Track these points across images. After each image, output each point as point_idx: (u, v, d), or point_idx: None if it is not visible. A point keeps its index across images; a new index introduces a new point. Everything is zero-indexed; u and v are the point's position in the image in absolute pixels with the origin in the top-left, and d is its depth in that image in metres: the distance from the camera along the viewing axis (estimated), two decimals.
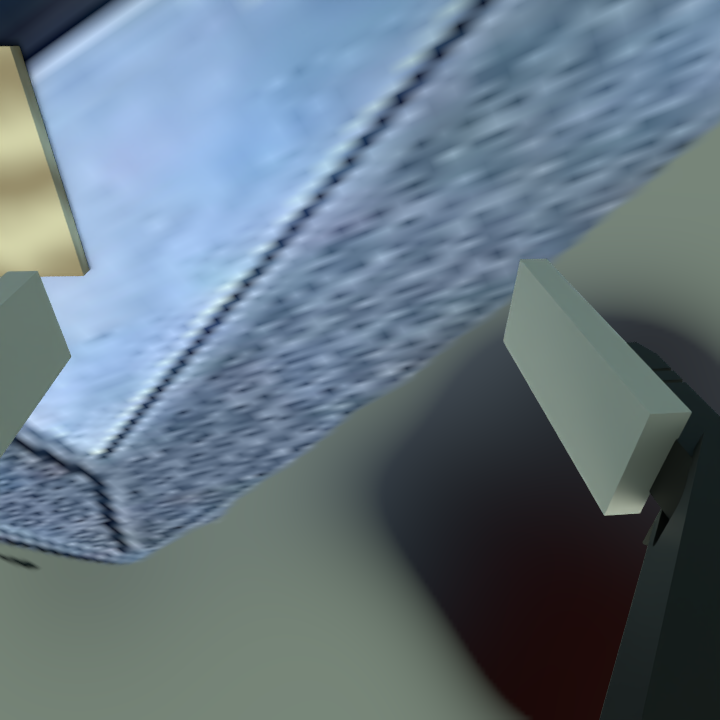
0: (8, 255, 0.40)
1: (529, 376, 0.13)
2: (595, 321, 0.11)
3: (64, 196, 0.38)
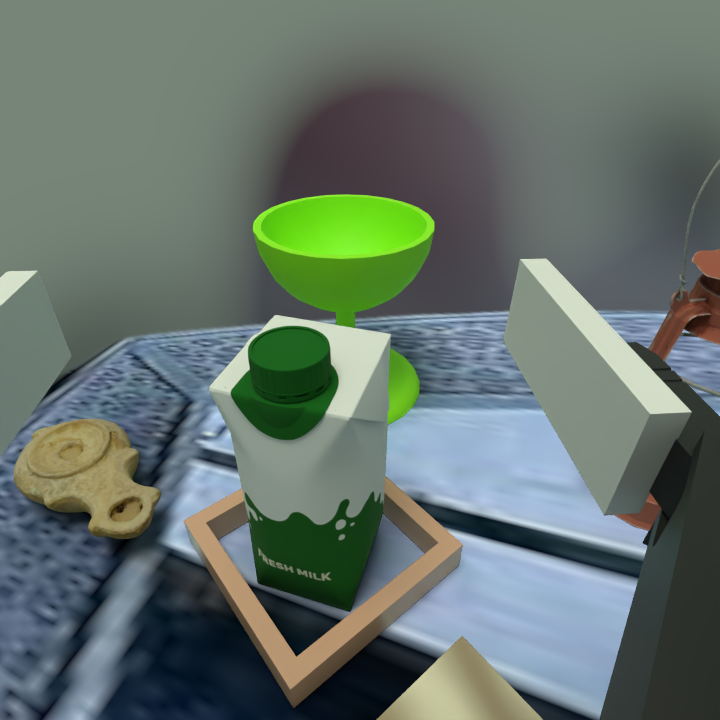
0: None
1: (529, 377, 0.13)
2: (595, 321, 0.11)
3: None
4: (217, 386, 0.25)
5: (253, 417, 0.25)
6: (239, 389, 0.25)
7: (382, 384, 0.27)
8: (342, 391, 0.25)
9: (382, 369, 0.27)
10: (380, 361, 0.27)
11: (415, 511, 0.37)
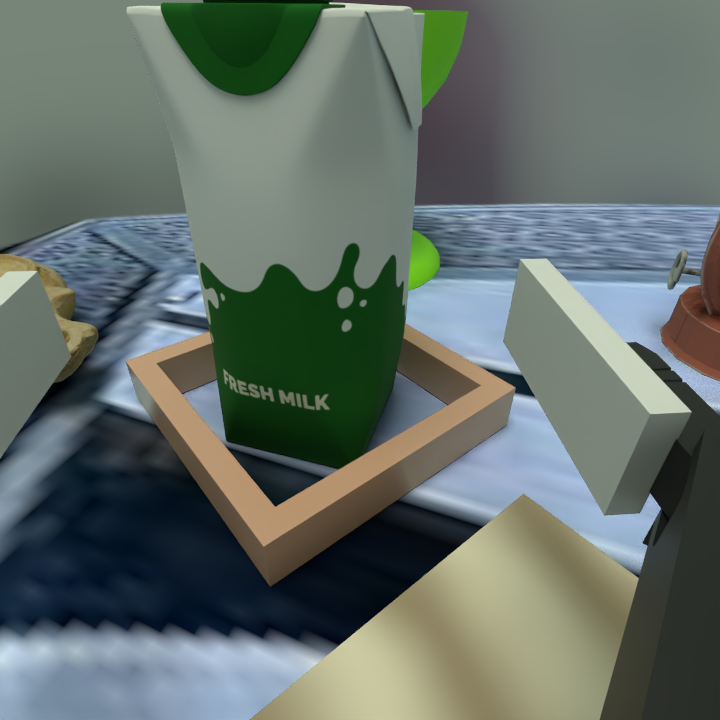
0: None
1: (528, 377, 0.14)
2: (595, 321, 0.11)
3: None
4: (140, 7, 0.15)
5: (200, 53, 0.14)
6: (176, 3, 0.14)
7: (414, 56, 0.17)
8: None
9: (414, 32, 0.17)
10: (411, 13, 0.17)
11: (445, 354, 0.27)
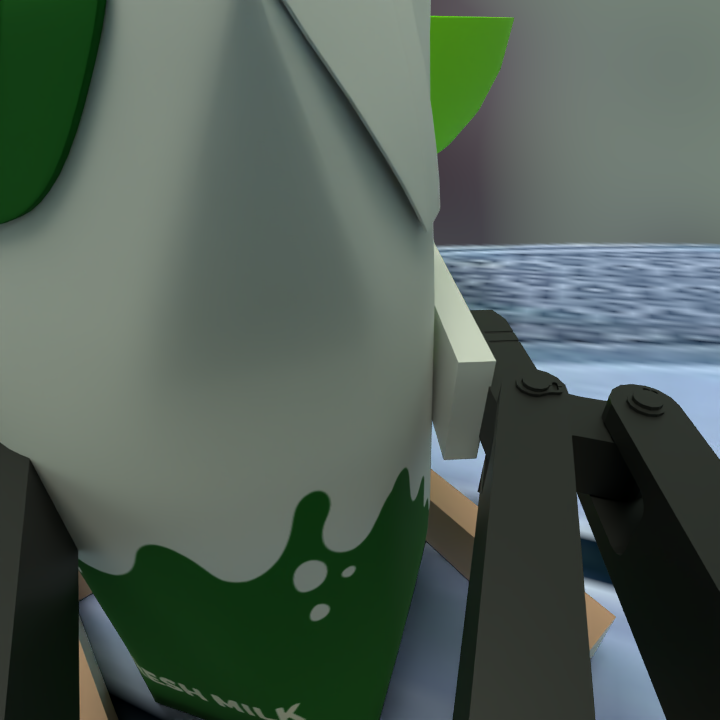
0: None
1: None
2: (449, 289, 0.12)
3: None
4: None
5: None
6: None
7: (419, 80, 0.08)
8: None
9: (414, 29, 0.08)
10: None
11: None
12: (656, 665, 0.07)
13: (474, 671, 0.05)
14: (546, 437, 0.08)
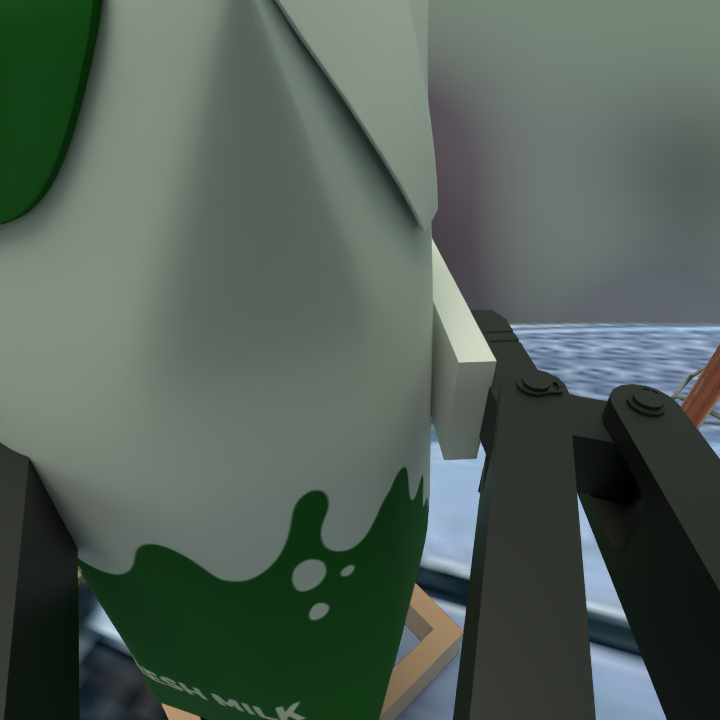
0: None
1: None
2: (449, 289, 0.12)
3: None
4: None
5: None
6: None
7: (416, 80, 0.08)
8: None
9: (411, 30, 0.08)
10: None
11: None
12: (656, 665, 0.07)
13: (474, 671, 0.05)
14: (546, 437, 0.08)
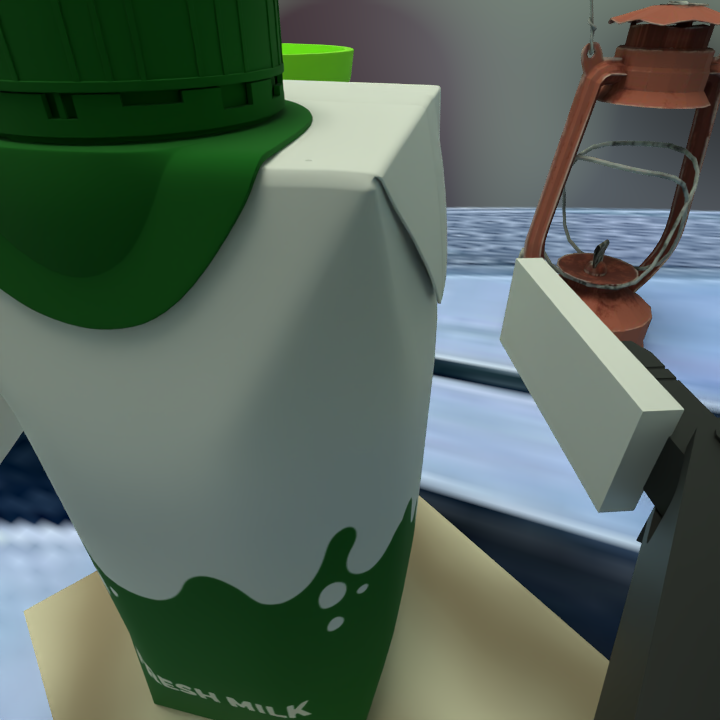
0: None
1: (525, 375, 0.14)
2: (590, 319, 0.11)
3: None
4: None
5: None
6: None
7: (441, 182, 0.09)
8: (328, 130, 0.06)
9: (438, 138, 0.09)
10: (434, 106, 0.09)
11: None
12: None
13: None
14: None
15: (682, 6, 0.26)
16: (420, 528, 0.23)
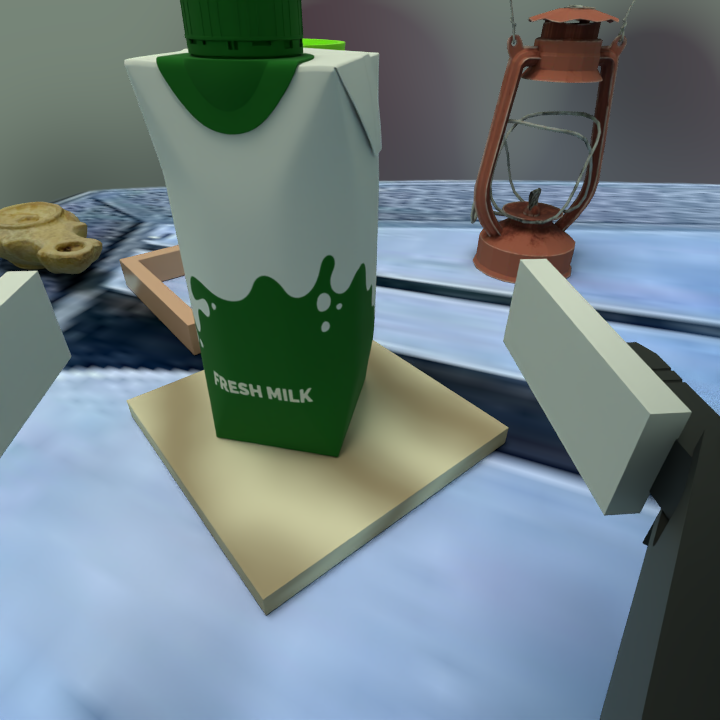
0: (240, 494, 0.24)
1: (528, 376, 0.14)
2: (595, 321, 0.11)
3: (378, 530, 0.24)
4: (136, 59, 0.17)
5: (192, 99, 0.17)
6: (169, 56, 0.17)
7: (373, 93, 0.20)
8: (320, 59, 0.17)
9: (372, 73, 0.20)
10: (369, 58, 0.20)
11: None
12: None
13: None
14: None
15: (575, 9, 0.37)
16: (386, 364, 0.33)
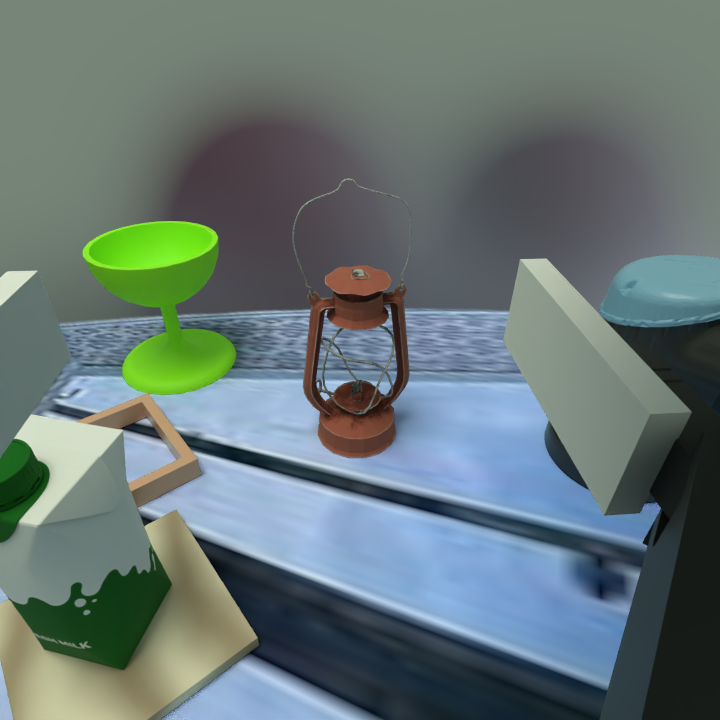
0: (44, 707, 0.35)
1: (529, 376, 0.13)
2: (595, 321, 0.11)
3: None
4: None
5: None
6: None
7: (103, 480, 0.31)
8: (44, 497, 0.28)
9: (102, 467, 0.31)
10: (97, 461, 0.31)
11: (176, 439, 0.56)
12: None
13: None
14: None
15: (353, 279, 0.48)
16: (194, 567, 0.44)
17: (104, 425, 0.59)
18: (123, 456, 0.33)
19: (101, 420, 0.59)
